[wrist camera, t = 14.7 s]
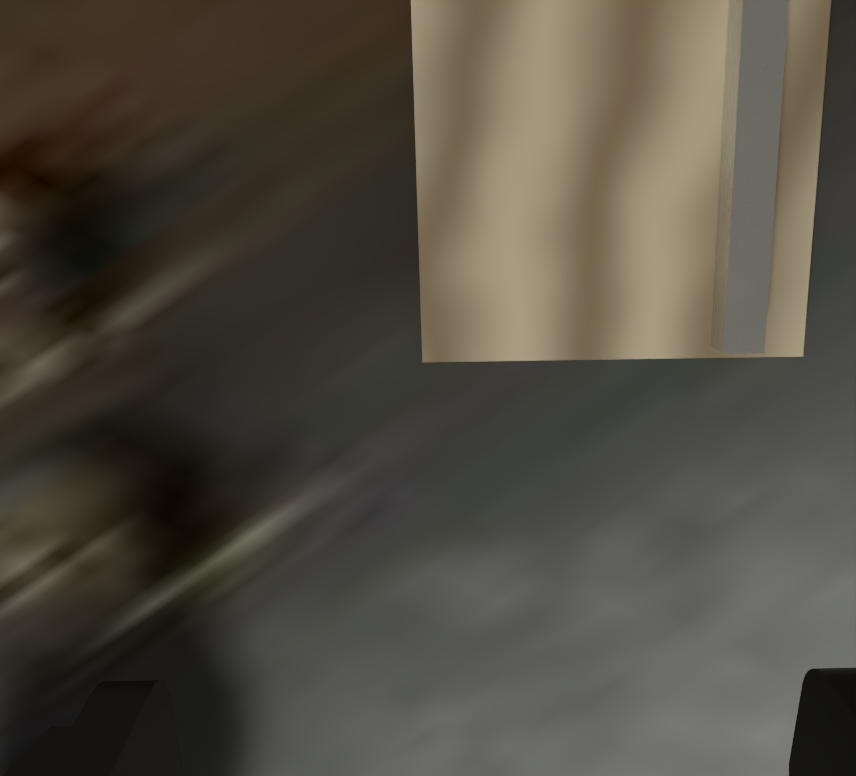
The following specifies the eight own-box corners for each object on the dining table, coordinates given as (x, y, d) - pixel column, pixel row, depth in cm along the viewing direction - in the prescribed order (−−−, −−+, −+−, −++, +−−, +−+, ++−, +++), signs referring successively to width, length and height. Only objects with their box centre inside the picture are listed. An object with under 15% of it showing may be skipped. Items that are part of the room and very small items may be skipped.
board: (424, 355, 35) (422, 362, 34) (404, -319, 29) (399, -346, 28) (789, 349, 34) (802, 356, 33) (842, -356, 28) (861, -387, 27)
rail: (709, 346, 33) (723, 355, 31) (745, -360, 27) (766, -404, 25) (750, 345, 33) (767, 354, 31) (796, -364, 27) (820, -409, 25)
